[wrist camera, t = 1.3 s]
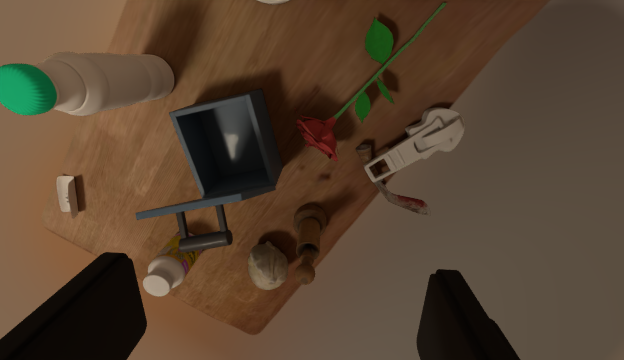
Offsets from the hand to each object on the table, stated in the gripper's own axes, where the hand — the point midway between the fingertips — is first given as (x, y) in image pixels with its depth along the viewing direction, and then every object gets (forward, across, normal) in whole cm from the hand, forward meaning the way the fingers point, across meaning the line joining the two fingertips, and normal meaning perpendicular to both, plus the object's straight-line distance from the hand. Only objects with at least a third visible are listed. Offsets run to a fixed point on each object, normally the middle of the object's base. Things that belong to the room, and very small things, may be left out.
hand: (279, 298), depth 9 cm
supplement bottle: (+46, +27, +30) cm, 61 cm away
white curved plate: (+44, +47, +19) cm, 67 cm away
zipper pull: (+45, -16, +6) cm, 48 cm away
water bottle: (+45, +28, -4) cm, 53 cm away
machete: (+45, -16, +12) cm, 49 cm away
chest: (+45, +14, +6) cm, 48 cm away
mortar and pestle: (+46, +1, +22) cm, 51 cm away
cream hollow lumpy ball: (+46, +9, +31) cm, 56 cm away
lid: (+29, +13, +10) cm, 33 cm away
